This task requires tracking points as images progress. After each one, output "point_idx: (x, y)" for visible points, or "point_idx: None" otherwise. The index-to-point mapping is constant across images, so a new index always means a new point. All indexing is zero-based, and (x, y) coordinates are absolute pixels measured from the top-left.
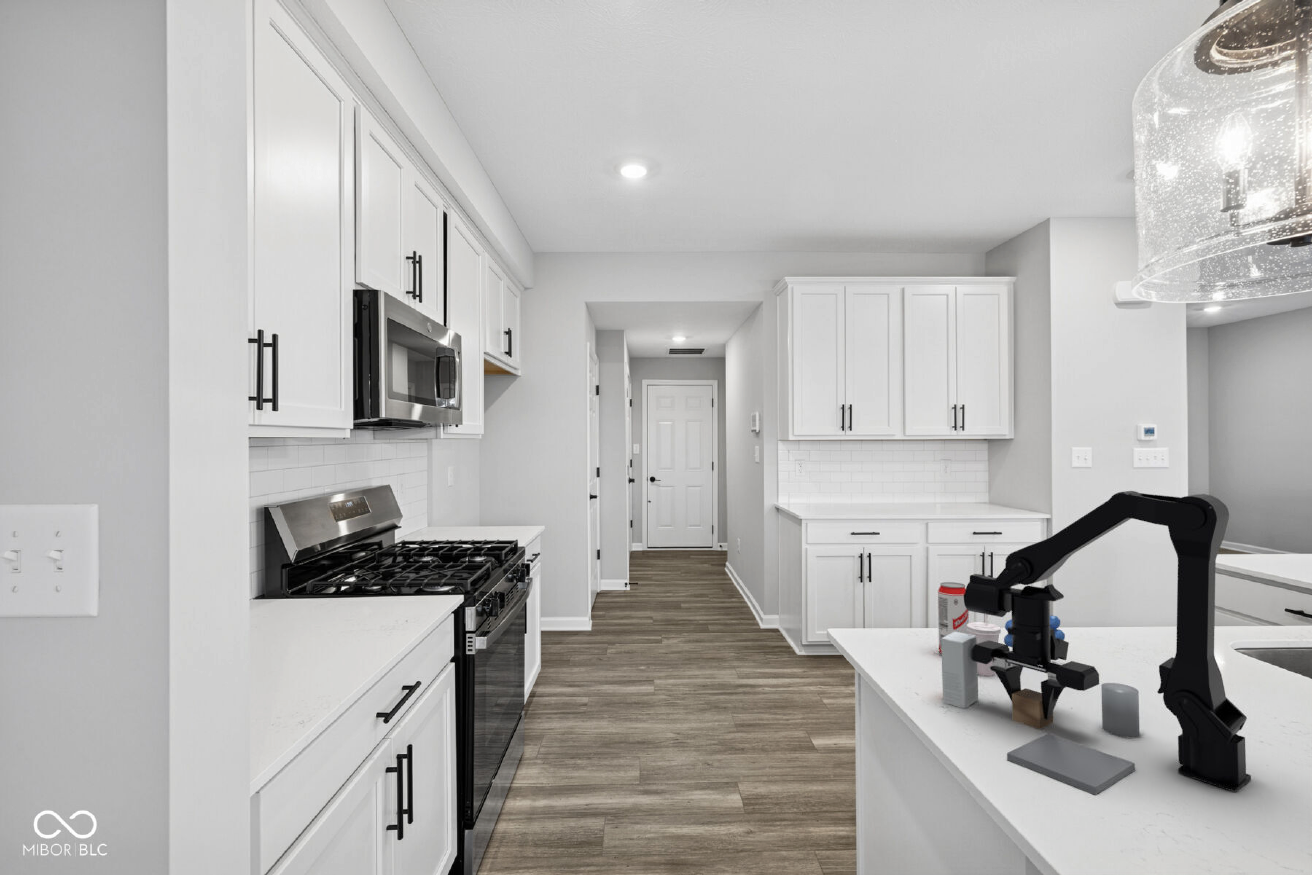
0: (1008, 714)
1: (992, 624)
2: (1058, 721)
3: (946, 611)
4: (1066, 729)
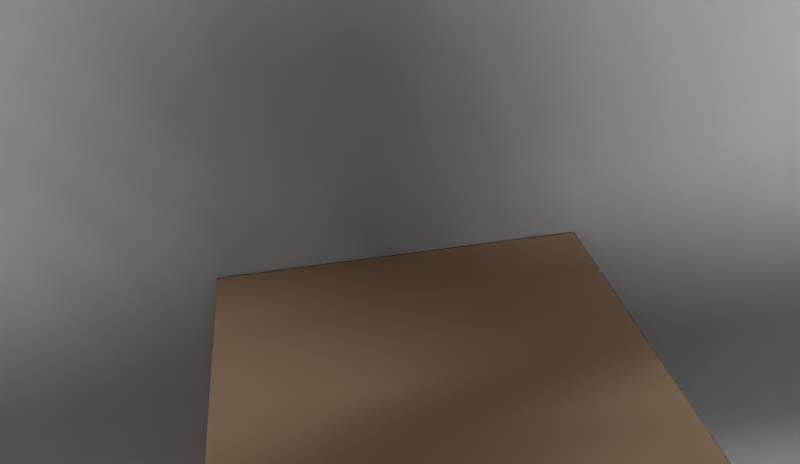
0: (131, 448)
1: None
2: (602, 139)
3: None
4: (738, 265)
